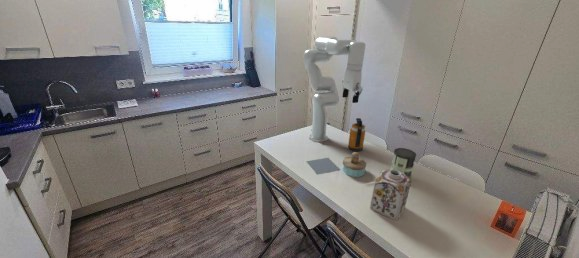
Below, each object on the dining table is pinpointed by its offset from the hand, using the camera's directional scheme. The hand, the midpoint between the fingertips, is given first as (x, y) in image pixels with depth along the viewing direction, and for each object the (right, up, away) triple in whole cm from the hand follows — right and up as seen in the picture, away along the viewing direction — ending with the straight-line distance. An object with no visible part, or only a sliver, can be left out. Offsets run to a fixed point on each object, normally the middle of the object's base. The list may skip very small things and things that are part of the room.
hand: (349, 99), depth 134 cm
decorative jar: (+10, -50, -26) cm, 57 cm away
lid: (+2, -34, -2) cm, 34 cm away
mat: (-14, -36, +4) cm, 39 cm away
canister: (+9, -29, +24) cm, 38 cm away
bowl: (+2, -38, 0) cm, 39 cm away
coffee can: (+25, -40, -3) cm, 48 cm away
